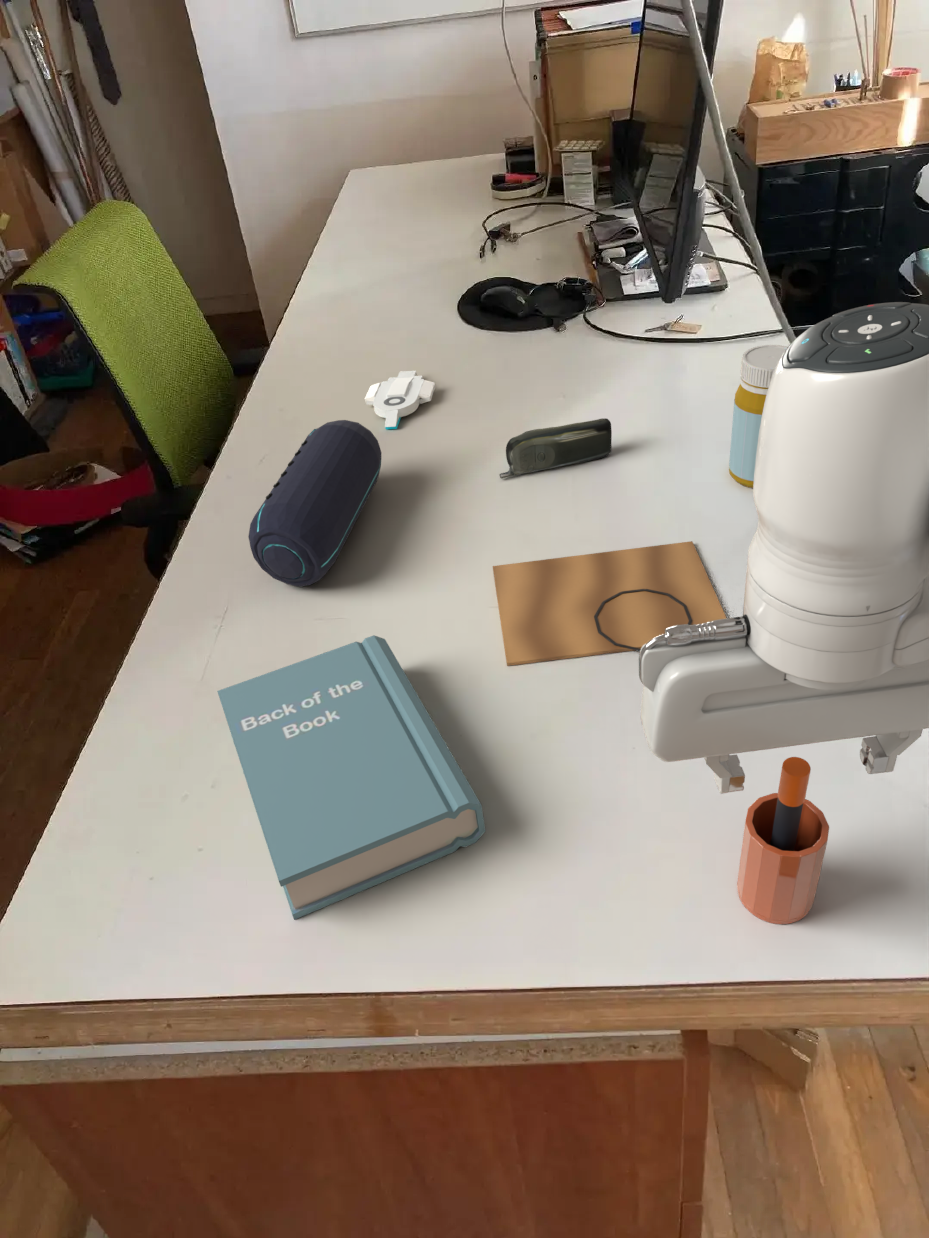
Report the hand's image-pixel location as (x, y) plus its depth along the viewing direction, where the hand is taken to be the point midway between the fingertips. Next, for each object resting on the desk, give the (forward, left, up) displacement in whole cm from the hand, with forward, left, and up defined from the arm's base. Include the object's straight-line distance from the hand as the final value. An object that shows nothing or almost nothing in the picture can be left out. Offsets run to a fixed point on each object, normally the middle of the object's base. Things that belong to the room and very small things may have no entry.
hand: (801, 775), depth 60 cm
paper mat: (+6, -36, -13) cm, 39 cm away
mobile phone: (+8, -64, -13) cm, 66 cm away
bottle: (-16, -56, -13) cm, 60 cm away
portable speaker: (+36, -55, -13) cm, 67 cm away
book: (+32, -16, -13) cm, 38 cm away
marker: (0, 0, -13) cm, 13 cm away
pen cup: (0, 0, -13) cm, 13 cm away
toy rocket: (+27, -87, -13) cm, 92 cm away
